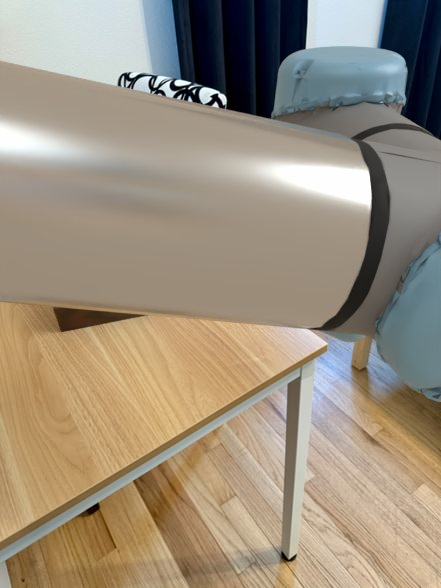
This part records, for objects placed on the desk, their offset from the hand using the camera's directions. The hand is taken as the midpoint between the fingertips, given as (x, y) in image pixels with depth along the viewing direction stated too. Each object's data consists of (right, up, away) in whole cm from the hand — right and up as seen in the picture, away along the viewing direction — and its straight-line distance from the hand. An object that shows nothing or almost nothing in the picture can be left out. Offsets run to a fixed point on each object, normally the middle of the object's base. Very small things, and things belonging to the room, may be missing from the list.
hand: (98, 175), depth 52 cm
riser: (-6, -15, +27) cm, 31 cm away
